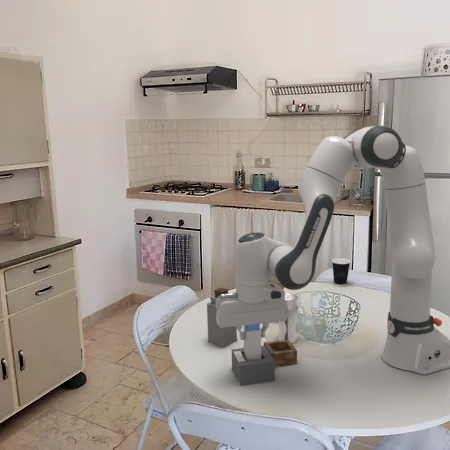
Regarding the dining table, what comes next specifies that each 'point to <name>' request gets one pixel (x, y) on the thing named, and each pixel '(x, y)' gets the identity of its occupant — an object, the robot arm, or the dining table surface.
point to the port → (253, 367)
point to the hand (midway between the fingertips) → (252, 337)
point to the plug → (252, 342)
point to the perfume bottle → (216, 333)
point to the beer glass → (289, 319)
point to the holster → (282, 352)
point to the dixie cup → (340, 271)
